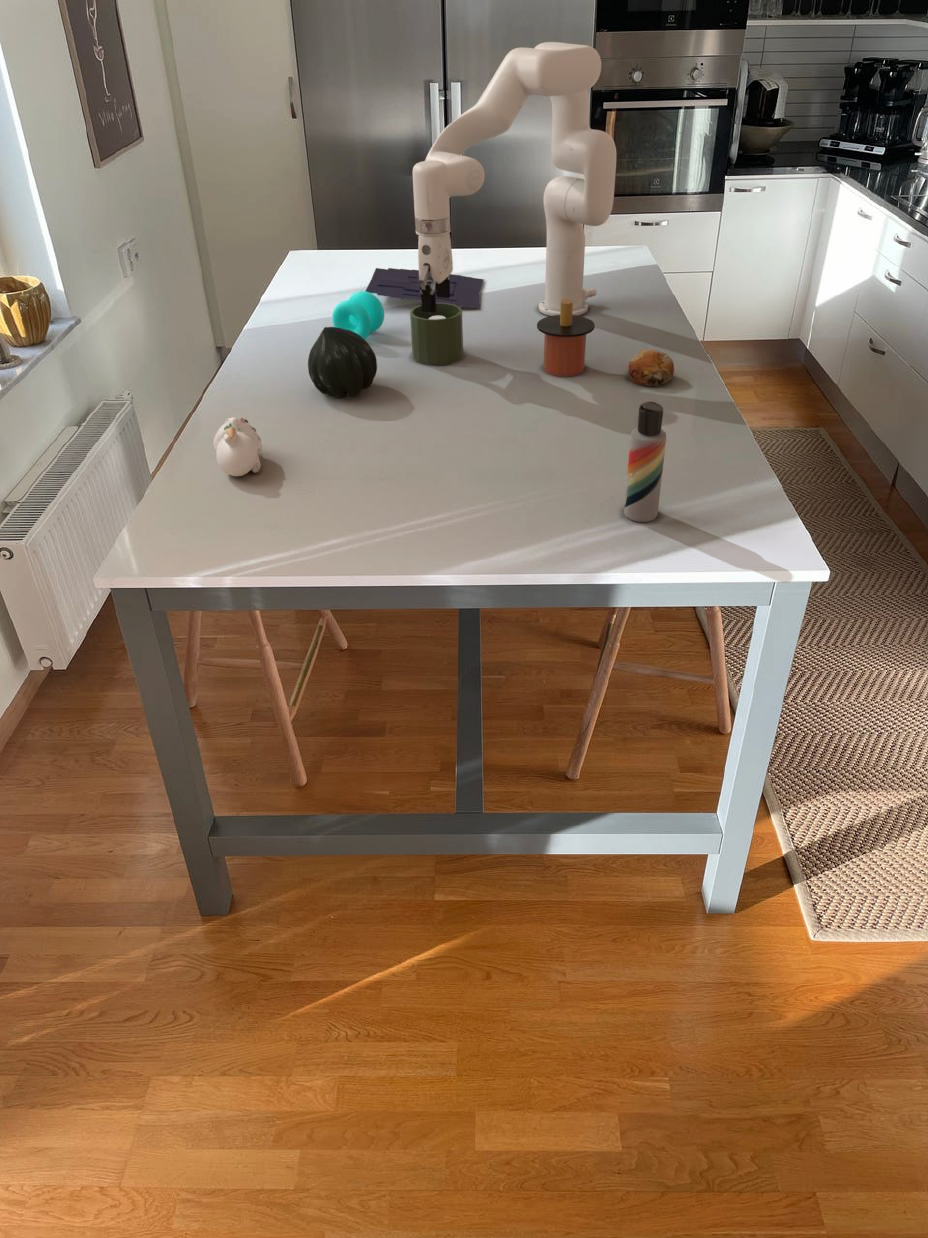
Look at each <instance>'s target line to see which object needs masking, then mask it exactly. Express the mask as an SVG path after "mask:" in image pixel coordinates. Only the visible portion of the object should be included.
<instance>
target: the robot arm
mask: <svg viewBox="0 0 928 1238" xmlns="http://www.w3.org/2000/svg"><path fill="white" fill-rule="evenodd" d="M601 72H602V60H601V55H600V54H599V52H598V51H597V50H596V48H594V47H592V46H590V45H588V44H587V45H586V44H578V43H577V44H576V43H567V42H559V41H546V42H545V41H544V42H541V43H539V44H537V45H535V47H534V48H533V47H515V48H513V49H511V50H510V51H509V52H508V53H507V54H506V55H505V57H504V58H503V60H502V61H501V63H500V65H499V66H498V68H497V69H496V71H495V73H494V74H493V76H492V78H491V79H490V81H489V83H488V84H487V86H486V88H485V89H484V91H483V92H482V94H481V95H480V97H479V99H478V101H477V102H476V103H475V104H474V105H473V106H472V107H470V108H468V109H467V110H465V111H464V112H463V113H461V115H459V116H458V117H456V118H455V119H453V121H452V122H450V123H449V124H448V125H446V127H444V129H443V130H441V132H440V133H439V135H438V136H437V137H436V139H435V140H434V142H433V145H432V146H431V148H430V149H429V151H428V153H427V155H426V157H425V159H424V160H423V161H419V162H417V163H415V164H414V166H413V168H412V189H413V190H412V191H413V208H414V226H415V234H416V235H417V236H418V242H417V243H418V244H417V245H418V247H417V248H418V252H417V255H418V256H417V258H418V259H417V260H418V264H417V265H418V270H419V283H420V289H421V291H420V293H421V302H420V303H421V305H422V311H423V312H433V313H434V312H436V296H437V297H441V298H449V297H450V280H447V279H450V274H453V273H452V272H453V270H454V264H453V252H452V251H453V250H452V240H451V234H450V233H451V207H450V205H451V204H450V203H451V202H450V198H451V197H467V196H471V195H473V194H475V193H477V192H478V191H479V190H480V189H481V188H482V186H483V185H484V182H485V177H486V176H485V169H484V167H483V165H482V164H481V163H480V161H478V160H477V159H476V158H473V157H471V156H467V155H466V156H465V155H463V154H464V153H465V152H466V151H467V150H468V149H469V148H471V147H472V146H474V145H476V144H479V143H480V142H483V141H486V140H489V139H493V138H495V137H498V136H500V135H503V134H504V133H506V132H508V131H509V129H511V127H512V125H513V123H514V122H515V120H516V118H517V117H518V115H519V113H520V112H521V110H522V108H523V107H524V105H525V104H526V102H527V100H528V99H529V97H530V96H531V95H534V96H543V97H549V99H550V102H551V110H552V112H551V115H552V116H551V118H552V119H551V120H552V121H551V150H550V151H551V160H552V164H553V165H554V167H556V168H557V169H558V170H561V171H564V172H565V171H566V172H569V173H574V174H579V175H583V176H584V177H583V178H579V177H574V176H569V175H559V176H557V177H554V178H552V179H551V180H550V181H549V182H548V183H547V185H546V186H545V189H544V190H543V201H542V202H543V209H544V210H543V211H544V216H545V224H546V247H545V279H544V280H545V281H544V282H545V284H544V299H543V300H542V301H540V302H539V304H538V311H539V312H540V313H541V314H543V315H545V316H548V317H549V316H554V315H560V308H561V301H562V300H571V301H573V309H572V315H576V316H582V315H584V314H586V313H587V312H588V310H589V304H588V303H587V302H586V300H587V299H589V298H593V297H595V296H597V290H596V288H590V289H587V290H586V288H585V287H584V275H585V273H584V272H585V255H586V254H585V252H586V233H585V229H584V225H585V226H590V227H599V226H601V225H603V224H605V223H606V221H608V219H609V217H610V216H611V213H612V211H613V206H614V199H615V198H614V197H615V188H616V187H615V185H616V171H617V147H616V143H615V141H614V139H613V137H612V136H611V135H610V134H609V133H607V132H606V131H603V130H601V129H592V128H591V126H590V98H589V93H588V90H590V89H591V88H592V87H594V86H595V84H597V82H598V80H599V79H600V76H601ZM428 278H430V279H428ZM432 279H433V280H432ZM428 284H431V288H430V286H429V285H428ZM435 284H436V294H434V289H435Z"/></svg>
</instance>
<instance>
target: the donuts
mask: <svg viewBox="0 0 928 1238" xmlns="http://www.w3.org/2000/svg"><path fill="white" fill-rule="evenodd" d="M384 320H385V309H384V307H383V304H382V302H381V300H380V299H379V298H378V297H377V296H376V294H375V295H374V293H369V292H366V290H359V291H355V292H354V293H353V294H351V295H350V296H349V298H348V299H347V300H343V301H340V302H339V303H338V304H337V305H336V306H335V307H334V309H333V312H332V324H333V327H337V328H342V329H346V330H350V331H353V332H355V333H357V334H359V335H360V336H361V337H362V338H363V339H365V340H366V339H367V338H368V337H369V335H370V334H371V333H374V332H376V331H377V330H379V329H380V328H381V326H382V325H383V323H384Z"/></svg>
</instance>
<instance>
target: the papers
mask: <svg viewBox="0 0 928 1238" xmlns="http://www.w3.org/2000/svg"><path fill="white" fill-rule="evenodd" d="M428 279H430V278H428ZM432 280H433V279H432ZM447 280H450V297H449V298H441V297H437V296H436V303H449V304H454V305H456V306H458V307H464V308H472V309H473V308H475V309H480V296H481V291H482V287H483V284H484V280H485V279H484V278H477V277H472V276H465V275H460V274H453V273H451V274H450V279H447ZM428 285H429V286H430V288H431V284H428ZM365 291H366V292H369V293H371V294H375V295H377V296H381V297H388V298H392V299H393V298H394V299H400V300H413V301H421V293H420V291H421V289H420V283H419V269H406V268H393V267H392V268H391V267H388V268H379V267H376V268H375V269H374V272H373V274H372V277H371V279H370V281H369V283H368V285H367V287H366V289H365ZM434 294H436V284H435V289H434Z"/></svg>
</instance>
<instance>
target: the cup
mask: <svg viewBox="0 0 928 1238" xmlns="http://www.w3.org/2000/svg"><path fill="white" fill-rule="evenodd" d="M543 340H544V343H543V370H544V372H545V373H547V374H548V375H551V376H555V377H574V376H577V375H580V374H582V373H583V372H584V371H585V363H586V346H587V345H586V344H587V334H586V335H582V336H576V337H557V336H551V335H547V334H544V339H543Z"/></svg>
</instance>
